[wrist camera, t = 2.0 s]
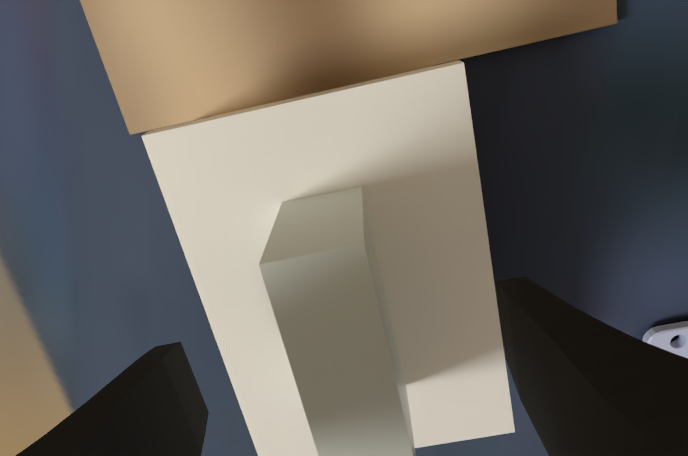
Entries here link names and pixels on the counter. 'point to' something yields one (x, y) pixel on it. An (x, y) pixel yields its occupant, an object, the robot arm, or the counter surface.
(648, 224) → the counter surface
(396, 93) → the lid
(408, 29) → the mat
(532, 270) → the counter surface
